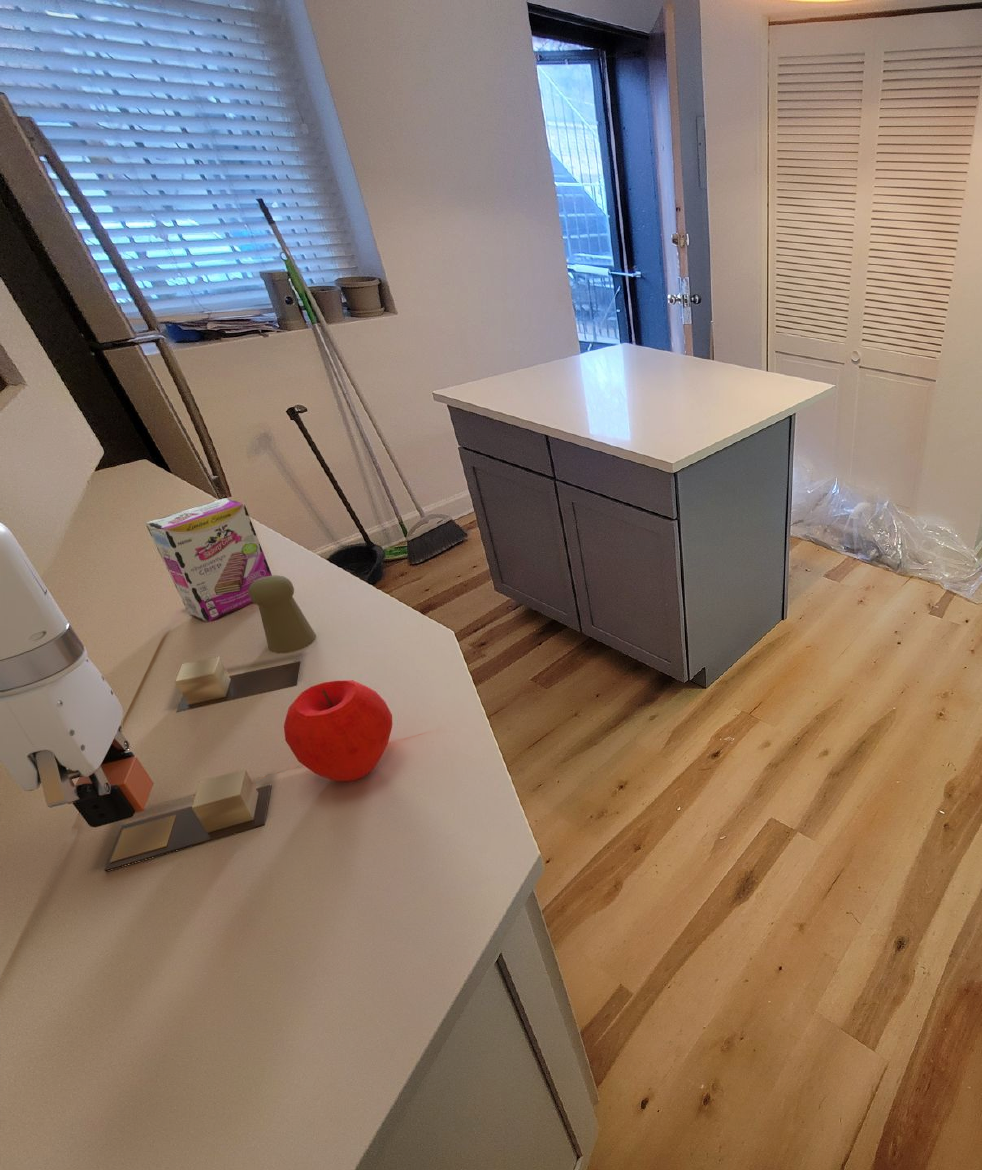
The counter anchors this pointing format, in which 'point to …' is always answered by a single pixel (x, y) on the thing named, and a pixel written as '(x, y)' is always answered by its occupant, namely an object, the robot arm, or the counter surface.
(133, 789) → the orange rounded box
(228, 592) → the candy bar box
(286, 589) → the olive green shaker
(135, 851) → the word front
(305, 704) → the apple
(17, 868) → the counter surface
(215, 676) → the grey rectangular tray
